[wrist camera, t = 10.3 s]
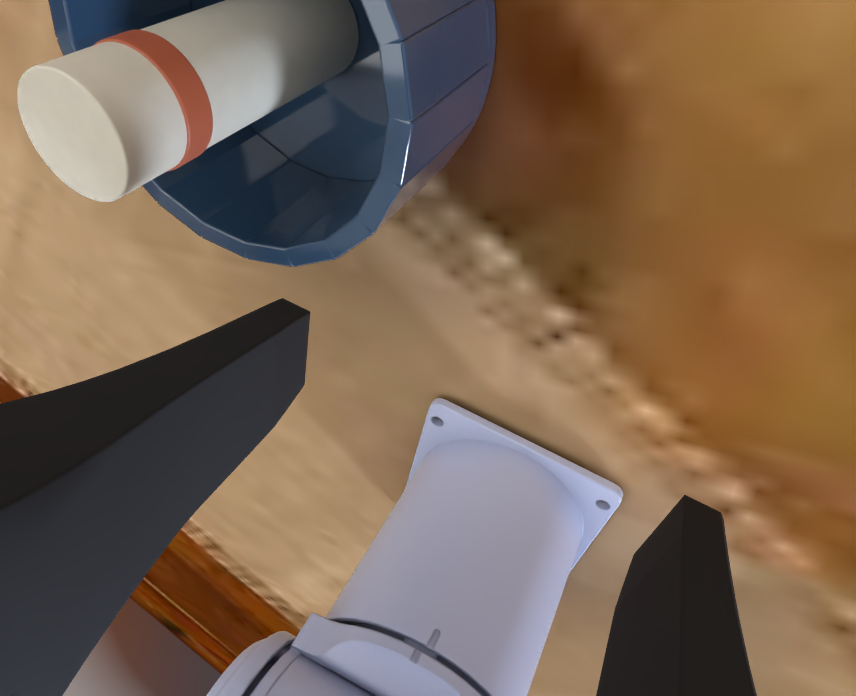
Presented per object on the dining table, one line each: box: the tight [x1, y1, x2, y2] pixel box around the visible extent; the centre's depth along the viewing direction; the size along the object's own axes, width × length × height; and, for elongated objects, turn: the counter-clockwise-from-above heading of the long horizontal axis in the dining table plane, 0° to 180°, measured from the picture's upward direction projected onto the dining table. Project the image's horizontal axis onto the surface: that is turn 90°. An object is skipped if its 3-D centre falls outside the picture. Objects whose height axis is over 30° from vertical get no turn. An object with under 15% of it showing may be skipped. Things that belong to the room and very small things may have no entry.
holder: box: [48, 0, 496, 267], centre depth 17 cm, size 10×10×5 cm
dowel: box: [17, 0, 359, 202], centre depth 15 cm, size 3×3×8 cm
